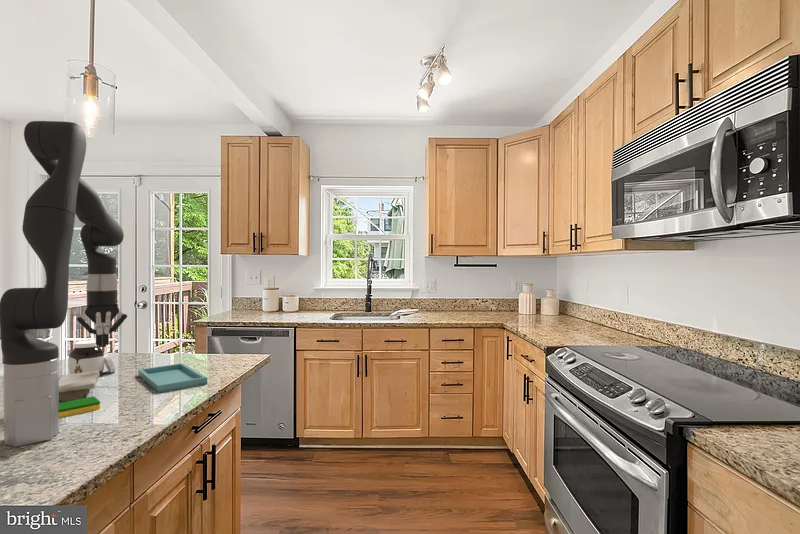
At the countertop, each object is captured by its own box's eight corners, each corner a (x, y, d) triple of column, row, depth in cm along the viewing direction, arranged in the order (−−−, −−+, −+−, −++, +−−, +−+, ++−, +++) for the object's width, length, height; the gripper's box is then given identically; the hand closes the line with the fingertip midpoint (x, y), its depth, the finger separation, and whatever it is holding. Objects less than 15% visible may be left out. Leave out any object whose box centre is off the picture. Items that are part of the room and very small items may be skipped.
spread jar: (64, 377, 143) (64, 343, 143) (97, 369, 154) (96, 337, 154) (90, 380, 140) (90, 345, 139) (122, 372, 150) (122, 339, 150)
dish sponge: (100, 410, 112) (100, 401, 112) (31, 425, 102) (31, 415, 102) (94, 404, 117) (94, 395, 117) (28, 417, 107) (28, 408, 107)
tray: (207, 384, 136) (207, 377, 136) (158, 393, 126) (158, 385, 126) (182, 369, 155) (182, 363, 155) (138, 376, 145) (138, 369, 145)
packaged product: (100, 384, 135) (60, 390, 130) (100, 369, 135) (60, 374, 130) (95, 399, 119) (50, 407, 114) (94, 382, 119) (49, 389, 114)
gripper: (76, 290, 120) (76, 351, 120) (130, 288, 129) (130, 345, 129) (73, 289, 126) (73, 347, 126) (125, 287, 135) (125, 342, 135)
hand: (102, 346), depth 127 cm, fingers closed
